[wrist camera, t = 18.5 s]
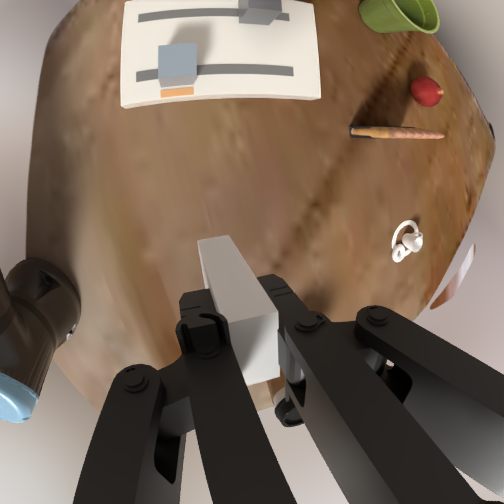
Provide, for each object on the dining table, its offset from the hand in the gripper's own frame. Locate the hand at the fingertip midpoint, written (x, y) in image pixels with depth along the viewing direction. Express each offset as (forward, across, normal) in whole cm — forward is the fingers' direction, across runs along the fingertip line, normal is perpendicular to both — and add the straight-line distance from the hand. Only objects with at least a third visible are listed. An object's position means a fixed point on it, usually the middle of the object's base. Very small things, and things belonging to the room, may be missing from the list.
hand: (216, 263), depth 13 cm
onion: (+25, +41, +15) cm, 50 cm away
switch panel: (+25, +6, +20) cm, 33 cm away
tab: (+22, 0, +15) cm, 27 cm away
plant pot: (+25, +34, +30) cm, 51 cm away
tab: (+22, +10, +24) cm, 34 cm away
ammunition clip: (+25, +31, +7) cm, 40 cm away
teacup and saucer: (+25, +37, -13) cm, 47 cm away
